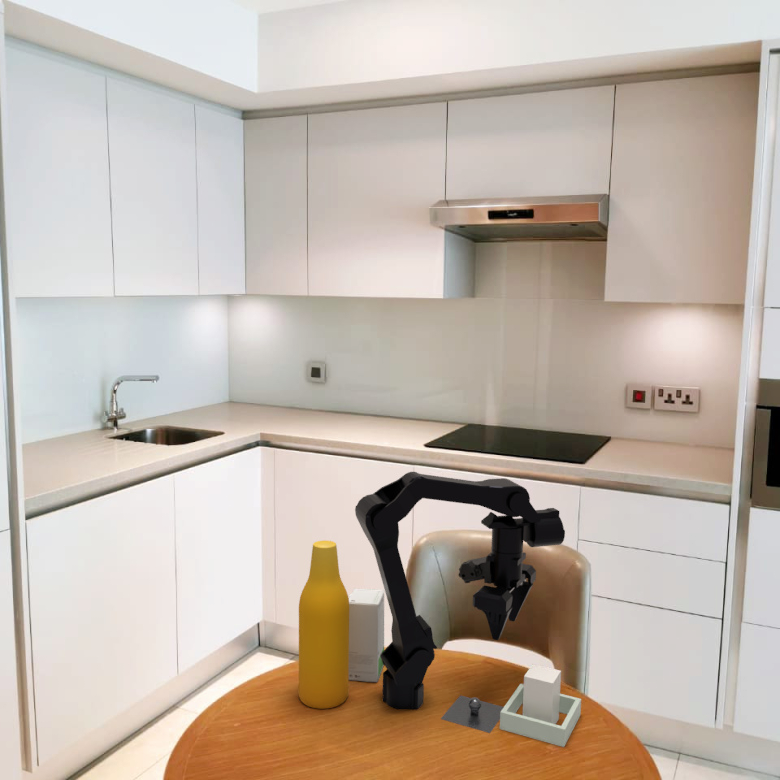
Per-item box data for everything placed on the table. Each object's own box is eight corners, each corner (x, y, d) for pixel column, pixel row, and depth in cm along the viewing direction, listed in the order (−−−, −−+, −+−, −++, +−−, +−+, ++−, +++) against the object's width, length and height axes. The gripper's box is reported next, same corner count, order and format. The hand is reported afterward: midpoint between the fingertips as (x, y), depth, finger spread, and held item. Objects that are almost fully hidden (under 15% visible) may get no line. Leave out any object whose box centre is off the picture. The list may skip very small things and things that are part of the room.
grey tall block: (550, 733, 132) (553, 683, 131) (522, 725, 134) (524, 676, 133) (558, 719, 136) (561, 670, 135) (530, 712, 139) (532, 664, 138)
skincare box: (377, 683, 149) (379, 605, 147) (343, 680, 150) (344, 602, 148) (384, 663, 158) (386, 588, 156) (352, 660, 159) (353, 586, 157)
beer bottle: (335, 714, 138) (337, 555, 135) (289, 703, 142) (289, 548, 138) (356, 690, 147) (358, 540, 143) (312, 680, 150) (313, 533, 146)
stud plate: (440, 724, 136) (441, 703, 135) (460, 700, 144) (460, 680, 143) (489, 738, 132) (490, 717, 131) (507, 713, 140) (508, 693, 139)
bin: (499, 734, 133) (500, 712, 133) (519, 704, 143) (520, 683, 142) (563, 752, 128) (564, 729, 128) (580, 720, 138) (581, 698, 137)
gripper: (483, 528, 156) (480, 603, 158) (446, 556, 139) (444, 640, 141) (538, 537, 151) (534, 615, 153) (506, 567, 134) (503, 654, 136)
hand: (504, 629), depth 146 cm, fingers open, 9 cm apart
